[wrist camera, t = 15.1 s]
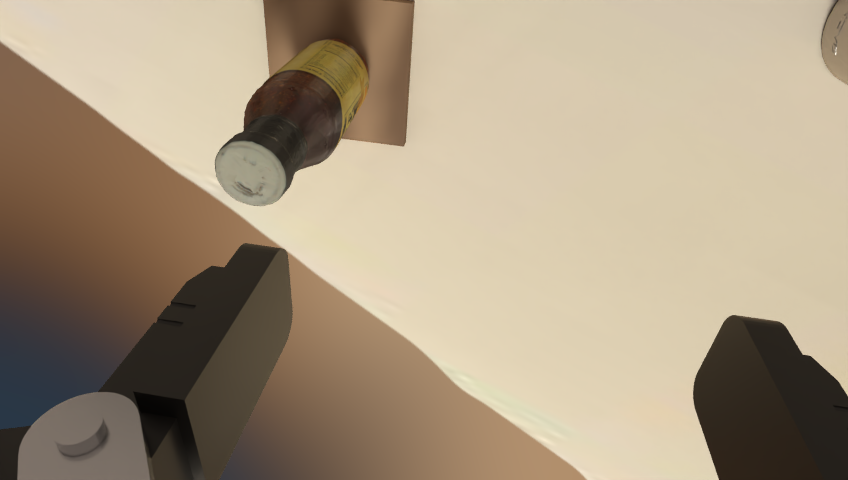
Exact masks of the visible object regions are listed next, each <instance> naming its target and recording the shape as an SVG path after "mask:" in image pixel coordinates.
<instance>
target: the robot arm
mask: <svg viewBox="0 0 848 480" xmlns="http://www.w3.org/2000/svg"><path fill="white" fill-rule="evenodd" d="M821 46H822V55H823V59H824V61H825V64H826V66H827V68H828V69H829V70H830V72H831V73H832V74H833V75H834V76H835V77H836V78H838V79H839V80H841V81H842V82H844V83H845V84H847V85H848V0H839V1H838V2H837V3H836V5H835V7H834V8H833V10H832V12H831V14H830V15H829V17H828V20H827V22H826V25H825V28H824V31H823V37H822V44H821ZM291 323H292V300H291V288H290V275H289V264H288V255H287V252H286V250H285V249H282V248H275V247H268V246H261V245H254V244H247V243H245V244H243V245H241V246H240V247H239V249H238V250H237V251H236V253H235V254H234V255H233V257H232V258H231V259H230V261H229V262H228V263H227V265H226V266H225V267H216V266H211V267H209V268H208V269H206V270H204V271H203V272H201V273H200V274H198V275H197V276H195V277H193V278H192V279H190V280H189V281H187V282H186V284H185V285H184V286H183V287H182V288H181V290H180V291H179V292H178V293H177V295H176V296H175V297H174V299H173V300H172V301H171V305H170V306H167V307H166V308H165V310H164V311H163V312H162V313H161V315H160V316H159V317H158V320H157V323H153V325H152V326H151V327H150V328H149V329H148V331H147V332H146V333H145V334H144V336H143V337H142V338H141V339H140V341H139V342H138V343H137V344H136V346H135V347H134V348H133V349H132V351H131V352H130V353H129V354H128V356H127V357H126V358H125V359H124V361H123V362H122V363H121V364H120V366H119V367H118V368H117V369H116V370H115V372H114V373H113V374H112V375H111V377H110V378H109V379H108V380H107V382H106V383H105V384H104V385H103V387H102V388H101V389H100V390H99V391H98V392H95V393H88V394H85V395H80V396H77V397H74V398H71V399H69V400H67V401H65V402H62V403H60V404H58V405H57V406H55V407H54V408H52V409H50V410H49V411H48V412H46V413H45V414H44V415H42V416H41V417H40V418H39V419H38V420H37V421H36V422H35V423H34V424H33V425H32V426H26V427H18V428H9V429H1V430H0V480H219V479H220V477H221V475H222V473H223V471H224V469H225V467H226V465H227V462H228V461H229V459H230V457H231V454H232V453H233V450H234V448H235V446H236V444H237V442H238V440H239V438H240V436H241V434H242V432H243V430H244V428H245V426H246V424H247V422H248V420H249V418H250V416H251V414H252V412H253V410H254V407H255V405H256V403H257V401H258V399H259V397H260V395H261V393H262V391H263V389H264V387H265V385H266V383H267V381H268V379H269V377H270V375H271V372H272V371H273V369H274V366H275V364H276V362H277V360H278V358H279V356H280V354H281V352H282V350H283V348H284V346H285V344H286V342H287V339H288V336H289V332H290V328H291ZM693 399H694V406H695V410H696V413H697V416H698V419H699V422H700V425H701V428H702V431H703V433H704V436H705V439H706V442H707V445H708V448H709V451H710V454H711V457H712V460H713V463H714V466H715V469H716V472H717V475H718V478H719V480H848V396H847V394H846V393H845V391H844V390H843V388H842V387H841V385H840V383H839V382H838V381H837V380H836V379H835V378H834V377H833V376H832V375H831V374H830V373H829V372H827V371H826V370H825V369H824V368H823V367H822V366H821V365H820V364H819V363H818V362H817V361H815V360H814V359H813V358H812V357H811V356H808V355H802V353H801V351H800V350H799V348H798V346H797V345H796V343H795V341H794V340H793V338H792V336H791V335H790V333H789V331H788V330H787V328H786V327H785V326H784V325H783V324H782V323H780V322H778V321H772V320H765V319H758V318H751V317H744V316H737V315H732V316H729V317H728V318H727V319H726V320H725V321H724V323H723V325H722V327H721V328H720V330H719V332H718V334H717V336H716V338H715V340H714V342H713V344H712V346H711V348H710V350H709V352H708V353H707V355H706V357H705V359H704V361H703V363H702V365H701V367H700V369H699V371H698V373H697V375H696V378H695V382H694V390H693Z"/></svg>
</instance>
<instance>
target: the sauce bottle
mask: <svg viewBox="0 0 848 480" xmlns="http://www.w3.org/2000/svg"><path fill="white" fill-rule="evenodd" d="M368 88H369V73H368V68H367V64H366V61H365V59H364V57H363V56H362V55H361V54H360V53H359V52H358V51H357V50H356V49H355V48H354V47H353V46H351V45H350V44H348V43H346V42H345V41H343V40H340V39H325V40H321V41H317V42H314V43H312V44H310V45H309V46H308V47H306V48H304V49H303V50H302V51H301V52H299V53H298V54H297V55H296V56H294V57H293V58H292V59H291V60H290V61H289V62H288V63H286V64H285V65H284V66H283V67H282V68H280V69H279V70H278V71H277V72H276V73H275V74H273V75H272V76H271V77H270V78H269V79H268V80H267V81H266V82H265V83H264V84H263V85H262V86H261V87H260V88H259V89H257V91H256V92H255V94H253V95H252V98H251V99H250V100H249V102H248V104H247V107H246V110H245V116H244V131H243V132H242V133H239V134H236V135H235V136H234V137H233V138H232V139H230V140H229V141H228V142H227V143H226V144H225V145H224V146H223V147H222V148H221V149H220V150H219V152H218V154H217V156H216V159H215V171H216V177H217V179H218V181H219V183H220V184H221V186H222V187H223V189H224V190H225V191H226V192H227V193H228V194H229V195H230V196H231V197H232V198H234V199H236V200H237V201H239V202H242V203H245V204H248V205H253V206H265V205H270V204H273V203H274V202H276V201H277V200H279V199H280V197H281V196H282V195H283V194H284V193H285V192H286V190H287V189H288V188H289V187H290V185H291V182H292V179H293V176H294V174H295V172H296V171H298V170H300V169H303V168H306V167H309V166H313V165H316V164H319V163H321V162H323V161H324V160H325V159H327V158H328V157H329V156H330V155H331V154H332V152H333V151H334V150H335V148H336V147H337V145H338V143H339V141H340V140H341V138H342V136H343V135H344V133H345V132H346V130H347V128H348V126H349V125H350V123H351V121H352V120H353V119H354V116H355V115H356V113H357V112H358V110H359V108H360V107H361V105H362V103H363V102H364V100H365V98H366V95H367V92H368Z"/></svg>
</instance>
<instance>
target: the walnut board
mask: <svg viewBox="0 0 848 480" xmlns="http://www.w3.org/2000/svg"><path fill="white" fill-rule="evenodd" d="M263 2H264V14H265V26H266V38H267V50H268V62H269V74H270V77H271V76H272V75H273V74H275V73H276V72H277V71H278V70H279V69H280V68H282V67H283V66H284V65H285V64H286V63H288V62H289V61H290V60H291V59H292V58H293V57H294V56H296V55H297V54H298V53H299V52H301V51H302V50H303V49H304V48H306V47H308V46H309V45H310V44H312V43H314V42H317V41H321V40H325V39H340V40H343V41H345V42H346V43H348V44H350V45H351V46H353V47H354V48H355V49H356V50H357V51H358V52H359V53H360V54H361V55H362V56H363V57H364V59H365V61H366V64H367V68H368V73H369V88H368V92H367V95H366V98H365V100H364V102H363V103H362V105H361V107H360V108H359V110H358V112H357V113H356V115H355V116H354V119H353V120H352V121H351V123H350V125H349V126H348V128H347V130H346V132H345V133H344V135H343V136H342V139H350V140H357V141H365V142H373V143H381V144H389V145H397V146H404V145H405V142H406V129H407V113H408V97H409V81H410V65H411V49H412V33H413V18H414V2H415V1H408V0H263Z"/></svg>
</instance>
